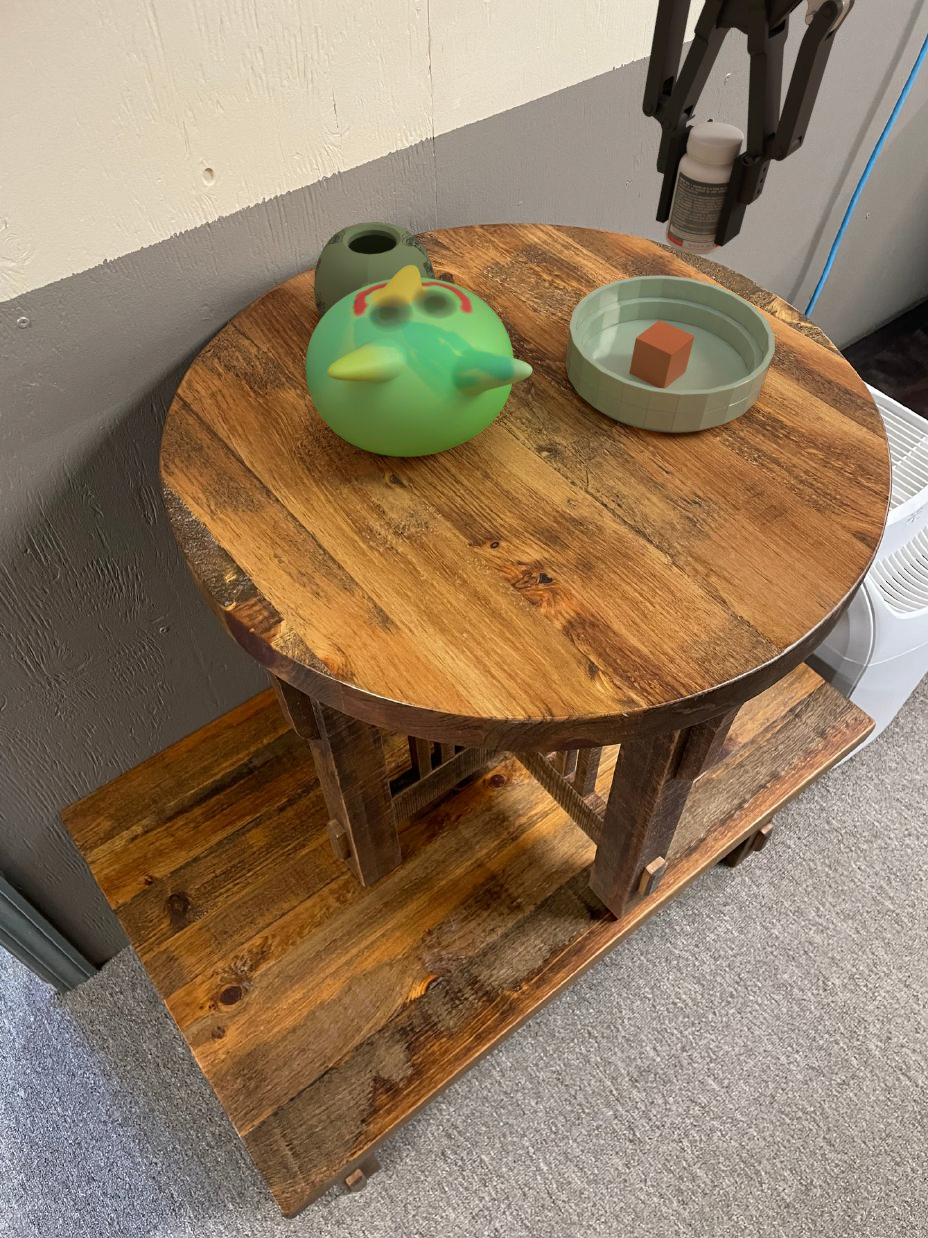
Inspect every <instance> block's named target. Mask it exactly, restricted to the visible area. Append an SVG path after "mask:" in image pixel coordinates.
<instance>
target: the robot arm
mask: <svg viewBox="0 0 928 1238" xmlns="http://www.w3.org/2000/svg"><path fill="white" fill-rule="evenodd" d="M803 1H804V0H704V4H703V6H702V8H701V11H700V14H699V15H698V19H697V21H696V23H695V26H694V29H693V33H694V36H693V39H692V42H691V44H690V47H689V49H688V51H687V54H686V56H685V59H684V61H683V65H682V67H681V69H679V68H680V65H681V64H680V63H681V58H682V52H683V46H684V41H685V38H686V37H685V36H686V32H687V31H686V30H687V27H688V26H687V25H688V19H689V13H690V8H691V3H692V0H658V4H657V10H656V16H655V22H654V28H653V29H654V30H653V36H652V42H651V47H650V48H651V49H650V53H649V54H650V55H649V61H648V68H647V73H646V81H645V86H644V93H643V99H642V105H641V106H642V107H641V109H642V113H643V114H644V116H646V117H647V118H651V117H652V118H654V119H655V120H656V121H657V122H658V123H659V125H660V128H661V137H660V143H659V148H658V153H657V159H656V172H657V173H659V174H662V175H663V177H662V183H661V189H660V194H659V199H658V205H657V211H656V214H655V215H656V216H655V221H656V222H659V223H661V224H665V223H666V222H668V219H669V214H670V209H671V204H672V199H673V194H674V189H675V183H676V178H677V172H678V167H679V163H680V160H681V158H682V157H683V155H684V154H686V153H687V143H688V139H689V134H690V131H691V129H692V128H693V127H694V126H695V125H692V124H689V125H687V124H688V122H690V121H691V120H693V119H694V118H695V117H696V114H695V113H694V111H695V109H696V107H697V105H698V102H699V99H700V97H701V95H702V93H703V91H704V88H705V86H706V83H707V81H708V78H709V76H710V74H711V71H712V69H713V68H714V64H715V62H716V60H717V57H718V55H719V53H720V51H721V48H722V45H723V43H724V41H725V38H726V37H727V35H728V33H729V31H730V30H731V29H737V30H738V31H740V32H741V33H743V34H744V35H746V36H747V38H746V39H747V40H746V42H747V43H746V50H747V54H748V55H749V77H748V78H749V79H748V98H747V99H748V103H747V125H746V127H747V128H746V150H745V151H744V152H741V154H740V155H739V156H738V157H737V158H735V159H734V163H733V167H732V171H731V175H730V180H729V184H728V188H727V192H726V196H725V200H724V204H723V208H722V212H721V216H720V220H719V224H718V229H717V233H716V237H715V241H714V244H716V245H719V246H721V247H720V248H723V247H724V246H725V245H727V244H728V243H729V242H730V241H732V240H733V239H735V238H736V237H737V236H738V235H740V233H741V230H742V226H743V222H744V218H745V214H746V210H747V207H748V206H750V205H751V204H752V203H754V202H755V201H757V200H758V199H759V198H760V196H761V195H762V193H763V189H764V187H765V183H766V179H767V175H768V172H769V169H770V165H771V162H772V160H775V161H776V162H782V161H784V160H785V159H786V158H788V157H789V156H791V155H792V154H793V153H795V152H796V151H797V150H799V149H800V148H801V147H802V146H803V144H804V141H805V137H806V134H807V131H808V127H809V124H810V121H811V117H812V114H813V112H814V111H813V110H814V107H815V105H816V101H817V97H818V94H819V90H820V87H821V84H822V81H823V77H824V75H825V72H826V71H825V70H826V67H827V64H828V61H829V57H830V54H831V51H832V47H833V44H834V41H835V38H836V35H837V32H838V31H839V29H840V28H841V26H842V25H843V23H844V21H845V20H846V18H848V15H849V14H850V13H851V11H852V9H853V7H854V5H855V4H856V3H855V2H856V0H806V2H807V10H806V13H805V16H804V17H805V18H804V23H805V24H806V25H807V26H808V27H807V28H806V30H805V32H804V35H803V36H802V39H801V42H800V45H799V48H798V52H797V55H796V59H795V63H794V66H793V69H792V74H791V76H790V81H789V85H788V88H787V92H786V96H785V99H784V103H783V106H782V110H781V103H782V101H781V99H782V85H783V84H782V83H783V70H784V54H785V53H784V52H785V45H786V43H787V41H788V37H789V28H790V15H791V14H792V13H793V12H794V11H795V10H796V9H797V8H798V7H799V6H800V5H801V4H802V2H803ZM679 70H680V71H679ZM678 74H679V75H678Z"/></svg>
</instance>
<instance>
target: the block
mask: <svg viewBox="0 0 928 1238" xmlns="http://www.w3.org/2000/svg"><path fill="white" fill-rule="evenodd" d="M693 340H694V336H693V335H691V334H689V333H687V332H685V331H682V330H680V329H678V328H676V327H674V326H671V325H669V324H667V323H665V322H663V321H661V320H659V321H657V322H656V323H655V324H653V325H652V326H651V327H649V328H648V329H647V330H646V331H644V332H643V333H642V334H640V335H639V336H638V337H636V340H635V345H634V351H633V356H632V361H631V367H630V372H629V373H630V374H632V375H634V376H636V377H638V378H640V379H642V380H644V381H646V382H648V383H650V384H652V385H654V386H656V387H658V388H664V389H665V388H667V387H668V386H669V385H670V384H671V383H672V382H674V381H675V380H676V379H677V378H678V377H680V376H681V375H682V374H683V373H684V372H686V369H687V365H688V361H689V356H690V352H691V348H692V344H693Z"/></svg>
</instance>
